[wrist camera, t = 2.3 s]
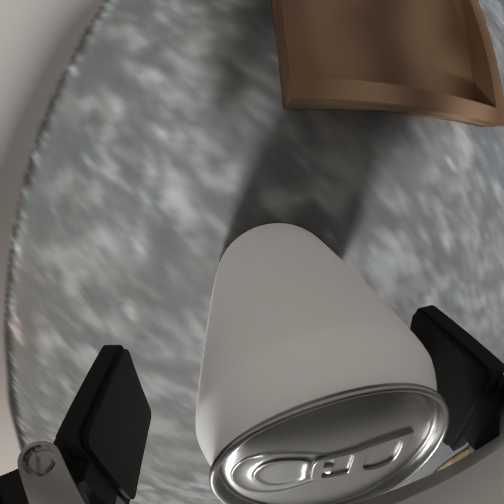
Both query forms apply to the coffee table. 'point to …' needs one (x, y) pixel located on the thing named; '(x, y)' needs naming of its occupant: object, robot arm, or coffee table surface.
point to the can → (309, 379)
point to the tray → (389, 58)
